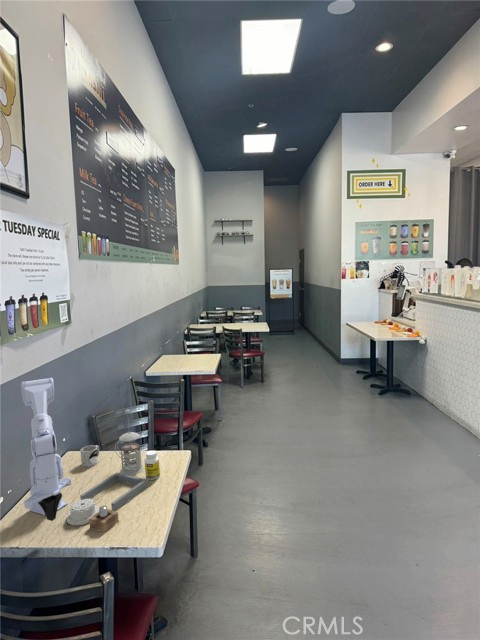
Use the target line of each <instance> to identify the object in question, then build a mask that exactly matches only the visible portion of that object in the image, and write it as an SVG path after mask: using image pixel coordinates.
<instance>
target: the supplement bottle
mask: <svg viewBox="0 0 480 640" xmlns="http://www.w3.org/2000/svg"><path fill="white" fill-rule="evenodd" d="M157 454H158V453H157V450H148V451H146V452H145V458H144V468H145V469H144V470H145V479H148V481H149V480H150V481H153V480H156V479H159V478H160V476H161V473H160V472H161V470H160V458H159V457H158V456H157Z"/></svg>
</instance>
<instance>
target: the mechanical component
mask: <svg viewBox="0 0 480 640" xmlns="http://www.w3.org/2000/svg"><path fill="white" fill-rule="evenodd" d="M99 508H100V506H98V505H96V501H95V500H93V499H92V498H90V499H84V500H81V499H79V500H78V501H74V502H73V503H71V505H70V507H69V509H70V510H69V511H68V514H67V515H66V522H67V524H69V525H71V526H82V525H86V524H88V523H89V518H91V517H92V516H93V515H95V514H96V513H98V512H99ZM89 524H90V523H89Z"/></svg>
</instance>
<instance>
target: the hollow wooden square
mask: <svg viewBox="0 0 480 640" xmlns="http://www.w3.org/2000/svg"><path fill="white" fill-rule="evenodd" d="M107 510H108V517H107V518H105V519H104V520H103V519H100V514H99V512H98V513H96V514H95V515H93V516H92V517H91V518H89V529H93V530H96V531H99V532H103V533H105V532H107V531H108V530H110V528H112V527H114V525H115V524H117V523H118V522H119V513H118V511H117V510H115V511H112V509H108V508H107Z"/></svg>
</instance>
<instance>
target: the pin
mask: <svg viewBox="0 0 480 640" xmlns="http://www.w3.org/2000/svg"><path fill="white" fill-rule="evenodd" d="M107 509H108V506H107V505H102V506H99V514H100V519H103V520H104V519H105V518H107V517H108V510H109V509H108V510H107Z"/></svg>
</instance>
